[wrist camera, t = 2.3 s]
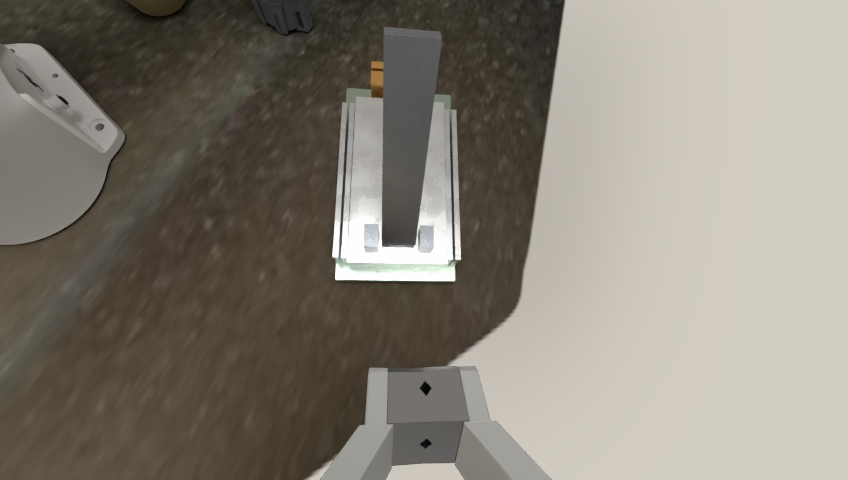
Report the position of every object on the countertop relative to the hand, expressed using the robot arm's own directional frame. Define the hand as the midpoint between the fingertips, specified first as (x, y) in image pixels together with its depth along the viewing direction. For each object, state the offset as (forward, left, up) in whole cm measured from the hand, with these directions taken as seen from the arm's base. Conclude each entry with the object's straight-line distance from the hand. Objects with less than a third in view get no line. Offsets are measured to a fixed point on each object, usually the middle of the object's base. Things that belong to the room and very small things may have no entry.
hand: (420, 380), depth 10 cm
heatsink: (-14, +10, -26) cm, 31 cm away
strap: (-11, +7, -12) cm, 18 cm away
